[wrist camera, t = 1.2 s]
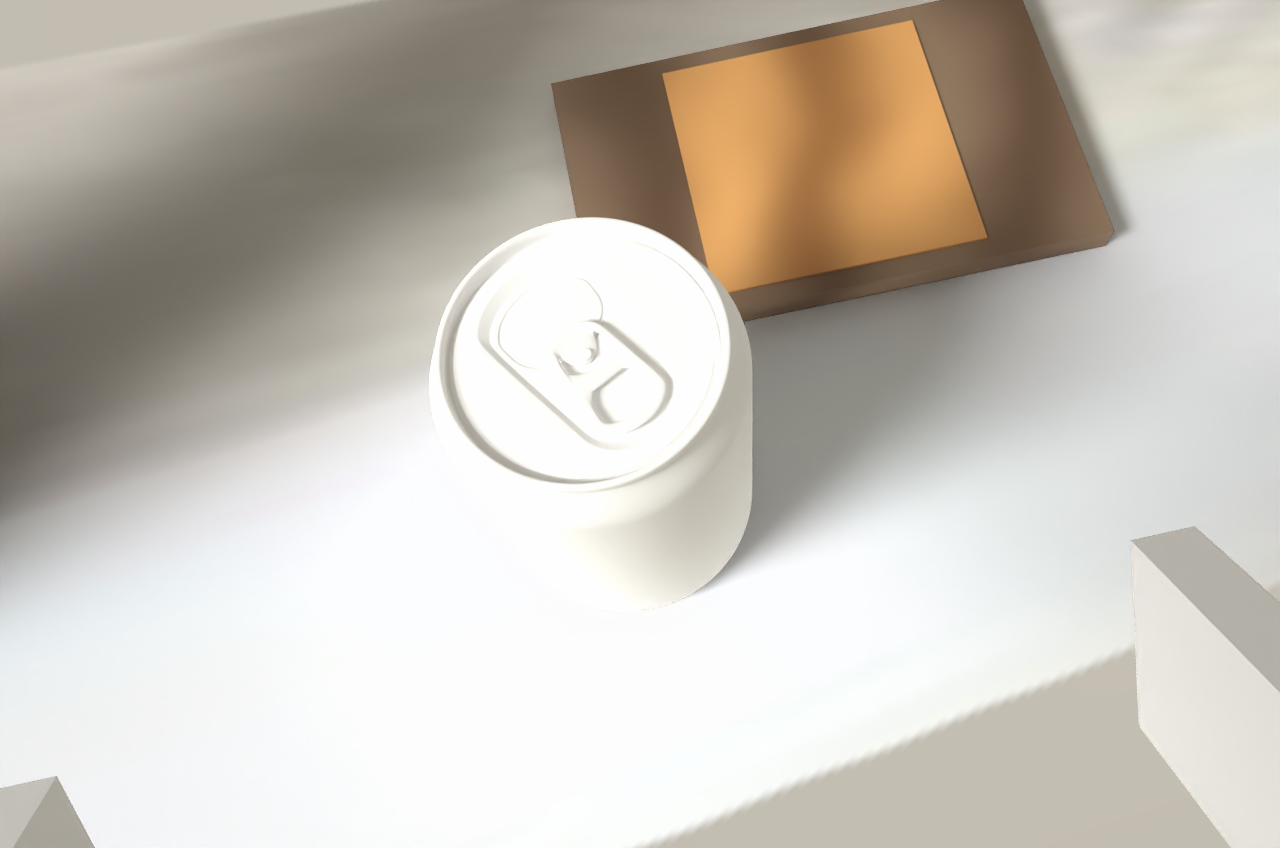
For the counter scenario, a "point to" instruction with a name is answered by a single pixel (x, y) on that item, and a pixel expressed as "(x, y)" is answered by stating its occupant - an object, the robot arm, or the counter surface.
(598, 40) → the counter surface
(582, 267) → the beverage can
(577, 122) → the label board
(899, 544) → the counter surface
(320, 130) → the counter surface
